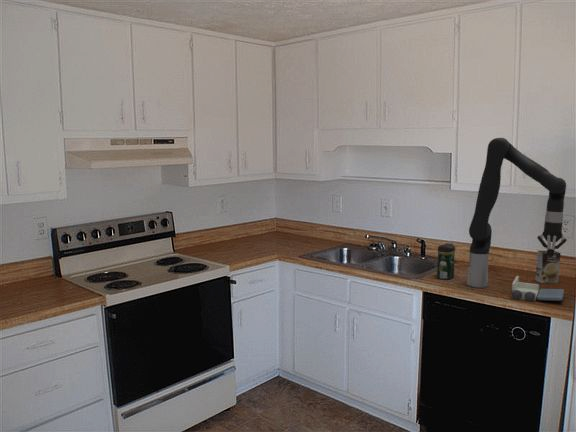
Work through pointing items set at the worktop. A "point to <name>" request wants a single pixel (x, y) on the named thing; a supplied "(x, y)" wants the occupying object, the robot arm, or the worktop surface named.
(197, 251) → the worktop surface
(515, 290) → the cart
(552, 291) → the tailgate
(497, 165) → the robot arm
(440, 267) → the coffee jar
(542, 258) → the coffee box
